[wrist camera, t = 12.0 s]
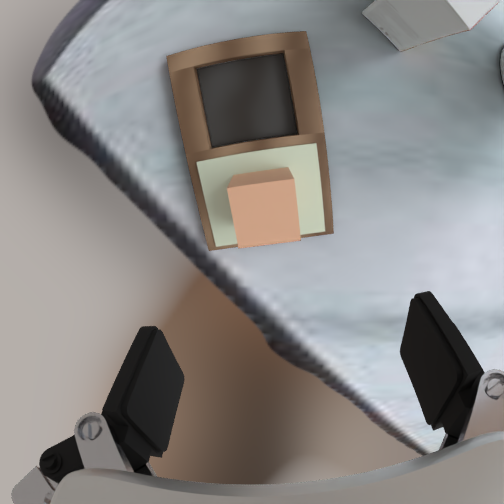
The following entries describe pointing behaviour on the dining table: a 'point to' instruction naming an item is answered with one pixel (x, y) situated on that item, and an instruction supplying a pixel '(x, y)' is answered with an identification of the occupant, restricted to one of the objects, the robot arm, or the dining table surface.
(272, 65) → the hole board
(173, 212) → the dining table surface
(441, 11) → the small box
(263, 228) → the terracotta cube
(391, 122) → the dining table surface
